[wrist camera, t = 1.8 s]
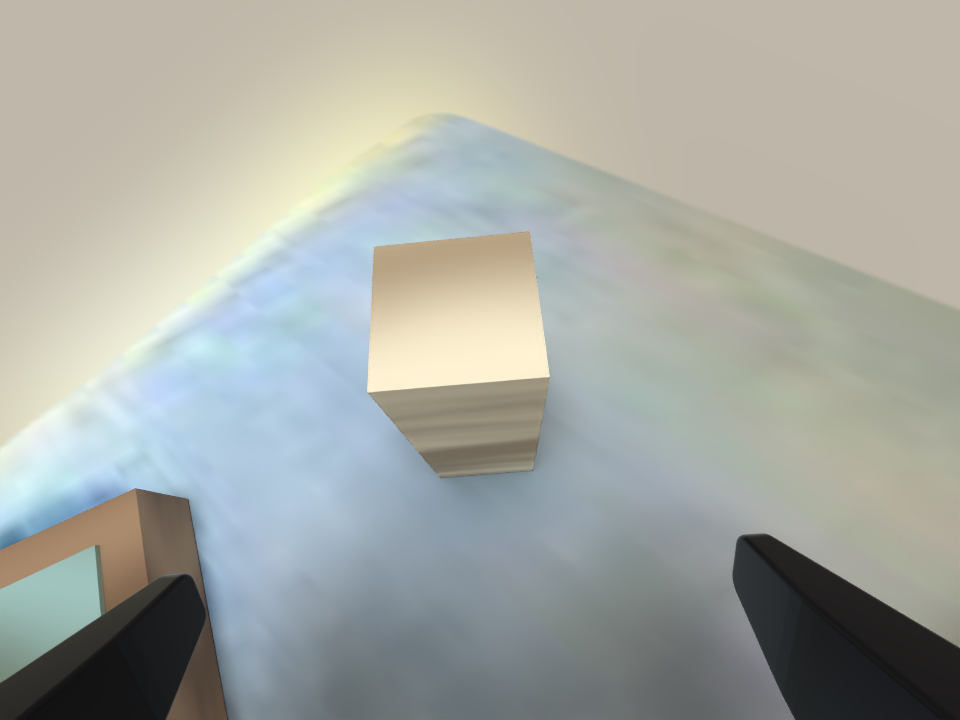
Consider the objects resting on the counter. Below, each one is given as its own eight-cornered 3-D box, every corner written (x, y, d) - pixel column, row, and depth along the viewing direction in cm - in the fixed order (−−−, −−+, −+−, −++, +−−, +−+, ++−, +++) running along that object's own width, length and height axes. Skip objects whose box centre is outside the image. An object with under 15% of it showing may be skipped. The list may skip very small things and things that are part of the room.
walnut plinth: (236, 765, 16) (172, 810, 13) (-64, 928, 15) (-208, 1020, 12) (187, 499, 20) (131, 487, 17) (-50, 609, 19) (-154, 617, 16)
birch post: (533, 470, 19) (549, 376, 10) (440, 477, 19) (367, 392, 10) (523, 383, 21) (529, 231, 11) (438, 391, 21) (374, 246, 12)
